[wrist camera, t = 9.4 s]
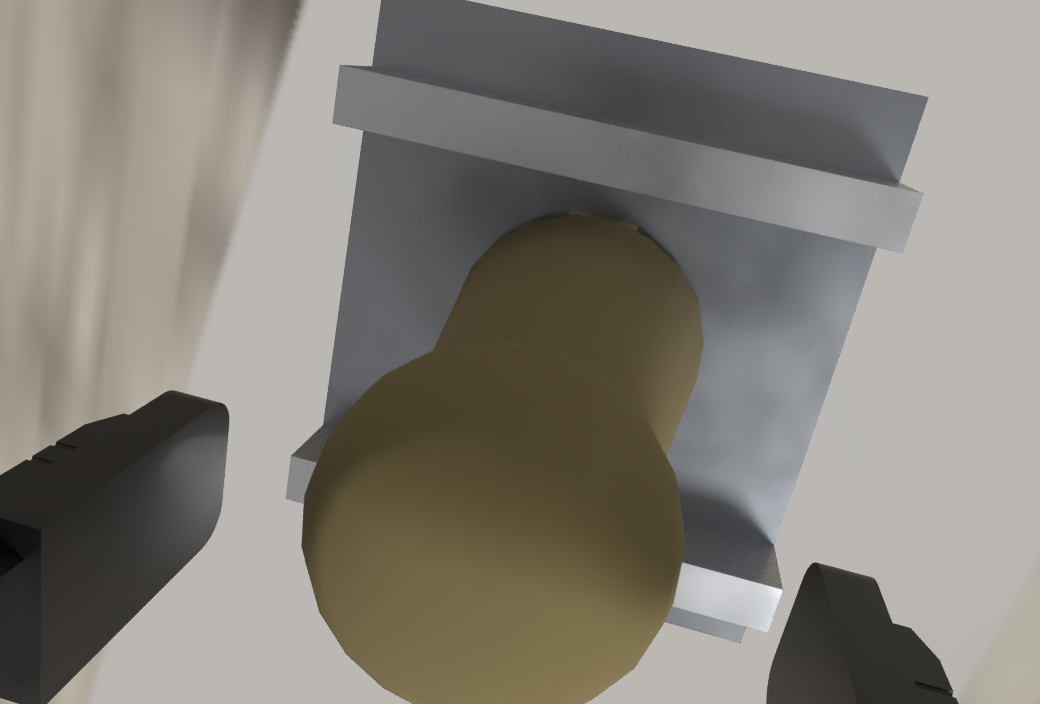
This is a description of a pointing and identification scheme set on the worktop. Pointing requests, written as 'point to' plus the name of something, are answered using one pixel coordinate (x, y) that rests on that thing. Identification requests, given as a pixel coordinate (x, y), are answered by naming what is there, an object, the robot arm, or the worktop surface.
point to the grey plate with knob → (643, 208)
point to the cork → (516, 478)
